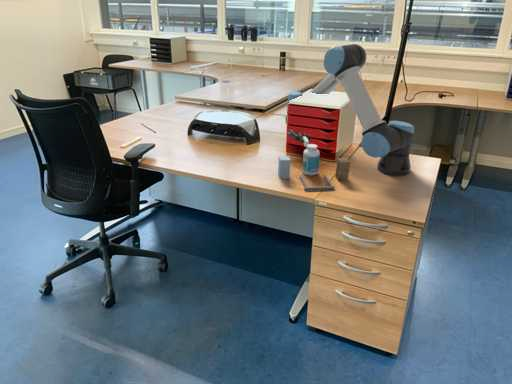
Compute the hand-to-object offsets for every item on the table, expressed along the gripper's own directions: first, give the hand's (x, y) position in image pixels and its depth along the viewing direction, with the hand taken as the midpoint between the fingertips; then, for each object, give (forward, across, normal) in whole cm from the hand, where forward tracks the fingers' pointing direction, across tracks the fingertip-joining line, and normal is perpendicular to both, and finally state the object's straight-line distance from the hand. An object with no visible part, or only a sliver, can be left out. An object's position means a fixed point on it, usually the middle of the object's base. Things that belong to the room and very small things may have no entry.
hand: (306, 144), depth 200 cm
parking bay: (+20, 0, -11) cm, 23 cm away
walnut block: (+16, -13, -11) cm, 23 cm away
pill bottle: (+9, 0, -11) cm, 14 cm away
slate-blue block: (+12, +13, -11) cm, 21 cm away
